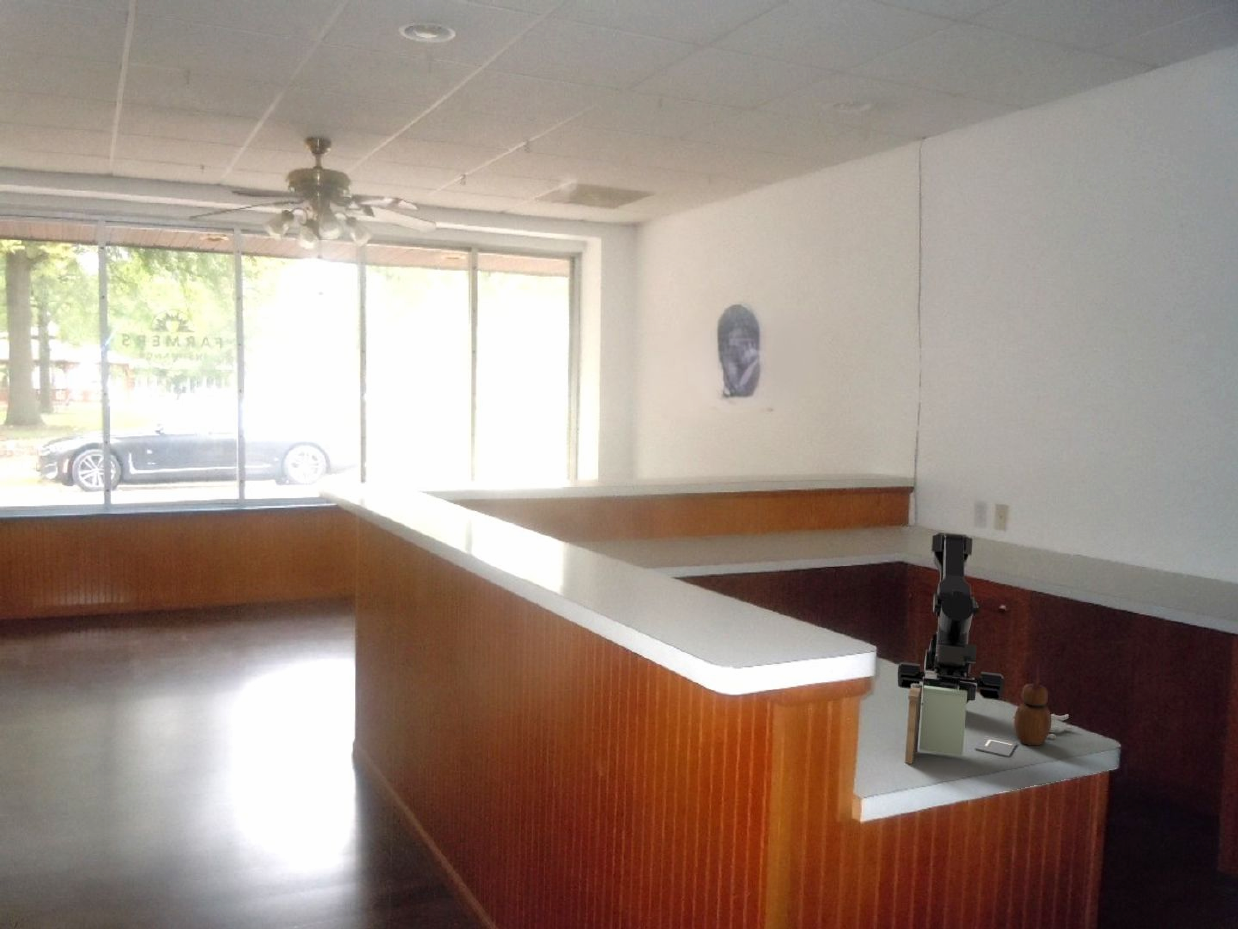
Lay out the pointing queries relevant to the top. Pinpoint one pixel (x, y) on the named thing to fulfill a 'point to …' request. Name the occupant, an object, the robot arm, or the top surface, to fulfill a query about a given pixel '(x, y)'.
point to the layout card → (996, 746)
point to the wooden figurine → (1033, 714)
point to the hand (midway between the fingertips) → (946, 722)
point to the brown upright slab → (913, 722)
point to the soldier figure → (1057, 727)
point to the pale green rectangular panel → (943, 720)
